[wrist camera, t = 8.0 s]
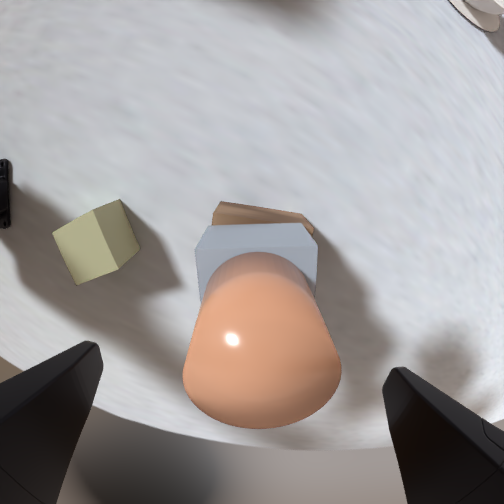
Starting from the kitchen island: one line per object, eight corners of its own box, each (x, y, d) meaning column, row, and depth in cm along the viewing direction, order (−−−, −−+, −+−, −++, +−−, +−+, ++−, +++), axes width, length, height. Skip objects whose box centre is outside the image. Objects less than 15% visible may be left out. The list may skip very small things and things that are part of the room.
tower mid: (215, 307, 17) (206, 347, 13) (208, 225, 15) (194, 249, 11) (298, 304, 17) (310, 344, 13) (301, 222, 15) (317, 245, 11)
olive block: (101, 264, 20) (76, 285, 16) (81, 218, 19) (52, 232, 15) (141, 248, 20) (118, 269, 16) (120, 198, 19) (92, 209, 15)
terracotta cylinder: (202, 338, 13) (185, 422, 8) (207, 246, 11) (180, 311, 7) (298, 346, 13) (318, 428, 8) (319, 257, 12) (362, 324, 7)
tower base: (211, 276, 20) (203, 303, 17) (220, 201, 19) (213, 212, 15) (286, 286, 21) (293, 314, 17) (301, 213, 19) (313, 228, 15)
